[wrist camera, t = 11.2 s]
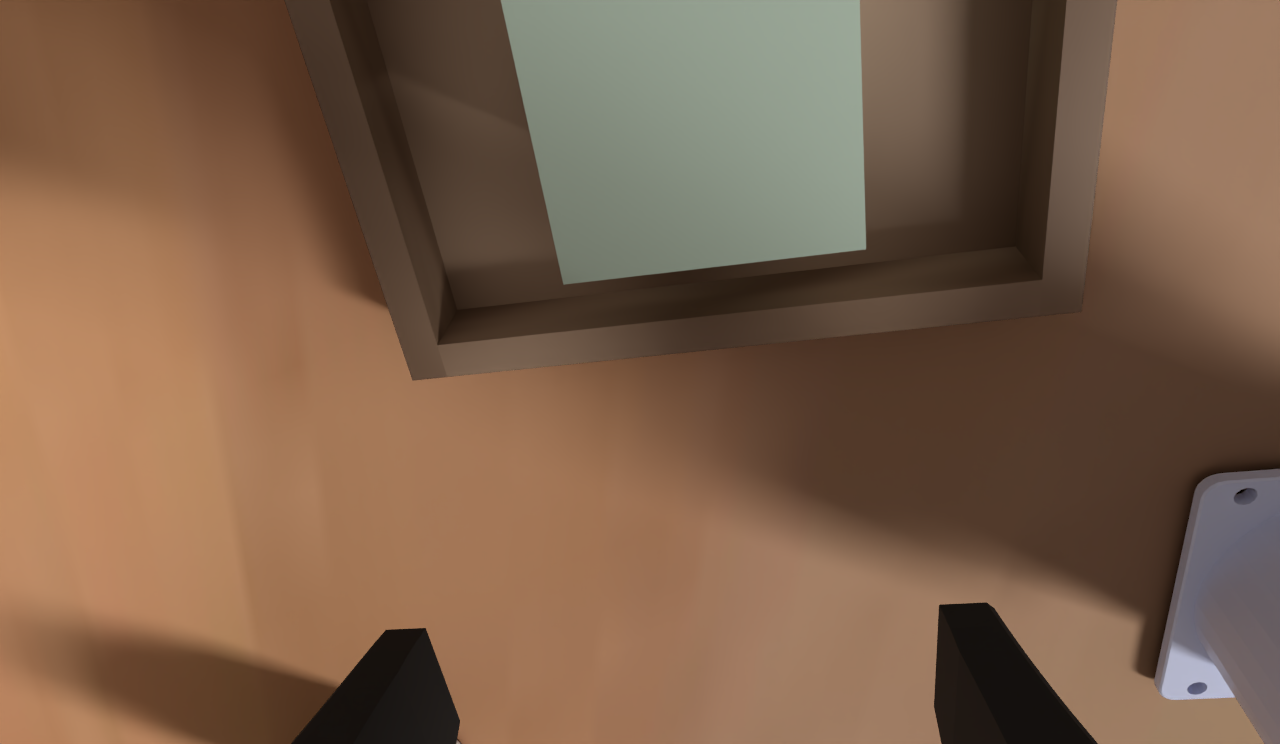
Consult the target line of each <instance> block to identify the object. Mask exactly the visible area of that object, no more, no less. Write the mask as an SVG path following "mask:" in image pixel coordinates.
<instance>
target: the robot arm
mask: <svg viewBox="0 0 1280 744" xmlns="http://www.w3.org/2000/svg"><path fill="white" fill-rule="evenodd" d="M1246 488H1247V489H1246ZM1242 489H1246V490H1245V491H1244V492H1242V493H1240V494H1236V493H1237V492H1239V491H1240V490H1242ZM1154 682H1155V686H1156V688H1157V690H1158V691H1159V693H1160V694H1161V695H1162V697H1165V698H1167V699H1173V700H1182V699H1205V698H1228V697H1235V698H1236V699H1237V701H1238V703H1239V704H1240V706H1241V707H1242V709H1243V710H1244V712H1245V714H1246V715H1247V717H1248V718H1249V720H1250V722H1251V723H1252V725H1253V726H1254V728H1255V729H1256V731H1257V733H1258V734H1259V736H1260V737H1261V739H1262V740H1263V742H1264V744H1280V469H1269V470H1256V471H1243V472H1230V473H1219V474H1214V475H1211V476H1209V477H1207V478H1205V479H1203V480H1202V481H1201V482H1200V483H1199V484H1198V485H1197V487H1196V489H1195V492H1194V497H1193V502H1192V506H1191V511H1190V516H1189V520H1188V525H1187V530H1186V534H1185V539H1184V544H1183V548H1182V553H1181V558H1180V562H1179V567H1178V572H1177V576H1176V581H1175V586H1174V590H1173V595H1172V600H1171V605H1170V609H1169V614H1168V619H1167V623H1166V628H1165V633H1164V637H1163V642H1162V647H1161V651H1160V656H1159V661H1158V665H1157V670H1156V675H1155V679H1154ZM934 708H935V713H936V718H937V723H938V728H939V733H940V738H941V743H942V744H1098V743H1097V742H1096V741H1095V740H1094V739H1093V737H1092V736H1091V735H1090V734H1089V733H1088V731H1087V730H1086V729H1085V728H1084V727H1083V725H1082V724H1081V723H1080V722H1079V721H1078V720H1077V718H1076V717H1075V716H1074V715H1073V714H1072V712H1071V711H1070V710H1069V709H1068V707H1067V706H1066V705H1065V704H1064V702H1063V701H1062V700H1061V699H1060V697H1059V696H1058V695H1057V694H1056V692H1055V691H1054V690H1053V689H1052V687H1051V686H1050V685H1049V683H1048V682H1047V681H1046V679H1045V678H1044V677H1043V676H1042V674H1041V673H1040V672H1039V670H1038V669H1037V668H1036V666H1035V665H1034V664H1033V662H1032V661H1031V660H1030V658H1029V657H1028V656H1027V654H1026V653H1025V652H1024V650H1023V649H1022V648H1021V646H1020V645H1019V643H1018V642H1017V641H1016V639H1015V638H1014V636H1013V635H1012V634H1011V632H1010V631H1009V629H1008V628H1007V626H1006V625H1005V624H1004V622H1003V621H1002V619H1001V618H1000V616H999V615H998V613H997V612H996V610H995V609H994V608H993V607H992V606H990V605H989V604H988V603H967V604H945V605H939V619H938V639H937V659H936V679H935V699H934ZM459 724H460V720H459V717H458V714H457V712H456V709H455V706H454V703H453V701H452V698H451V695H450V693H449V690H448V687H447V685H446V682H445V679H444V676H443V674H442V671H441V668H440V666H439V663H438V660H437V658H436V655H435V652H434V650H433V647H432V644H431V641H430V639H429V636H428V633H427V631H426V628H419V629H397V630H386V631H385V632H384V633H383V634H382V635H381V636H380V637H379V639H378V640H377V641H376V642H375V643H374V645H373V646H372V647H371V648H370V649H369V650H368V652H367V653H366V654H365V655H364V656H363V658H362V659H361V660H360V661H359V663H358V664H357V665H356V666H355V667H354V669H353V670H352V671H351V672H350V674H349V675H348V676H347V677H346V678H345V680H344V681H343V682H342V683H341V685H340V686H339V687H338V688H337V689H336V691H335V692H334V693H333V694H332V695H331V697H330V698H329V699H328V700H327V702H326V703H325V704H324V705H323V706H322V708H321V709H320V710H319V711H318V712H317V714H316V715H315V716H314V717H313V718H312V720H311V721H310V722H309V723H308V724H307V725H306V727H305V728H304V729H303V730H302V731H301V732H300V734H299V735H298V736H297V737H296V738H295V739H294V741H293V742H292V743H291V744H456V742H457V736H458V730H459Z"/></svg>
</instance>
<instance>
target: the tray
mask: <svg viewBox="0 0 1280 744" xmlns="http://www.w3.org/2000/svg"><path fill="white" fill-rule="evenodd" d="M285 3H286V6H287V9H288V12H289V15H290V18H291V21H292V24H293V27H294V30H295V33H296V36H297V39H298V42H299V45H300V48H301V51H302V54H303V57H304V60H305V63H306V66H307V69H308V72H309V75H310V78H311V81H312V83H313V86H314V89H315V92H316V95H317V98H318V101H319V104H320V107H321V110H322V113H323V116H324V119H325V122H326V125H327V128H328V131H329V134H330V137H331V140H332V143H333V146H334V149H335V152H336V155H337V158H338V161H339V164H340V167H341V169H342V172H343V175H344V178H345V181H346V184H347V187H348V190H349V193H350V196H351V199H352V202H353V205H354V208H355V211H356V214H357V217H358V220H359V223H360V226H361V229H362V232H363V235H364V238H365V241H366V244H367V247H368V250H369V252H370V255H371V258H372V261H373V264H374V267H375V270H376V273H377V276H378V279H379V282H380V285H381V288H382V291H383V294H384V297H385V300H386V303H387V306H388V309H389V312H390V315H391V318H392V321H393V324H394V327H395V330H396V333H397V336H398V338H399V341H400V344H401V347H402V350H403V353H404V356H405V359H406V362H407V365H408V368H409V371H410V374H411V377H412V380H422V379H432V378H442V377H452V376H461V375H471V374H481V373H491V372H500V371H510V370H520V369H530V368H539V367H549V366H559V365H569V364H578V363H588V362H598V361H608V360H617V359H627V358H637V357H647V356H656V355H666V354H676V353H686V352H695V351H705V350H715V349H725V348H734V347H744V346H754V345H763V344H773V343H783V342H793V341H802V340H812V339H822V338H832V337H841V336H851V335H861V334H871V333H880V332H890V331H900V330H910V329H919V328H929V327H939V326H949V325H958V324H968V323H978V322H988V321H997V320H1007V319H1017V318H1027V317H1036V316H1046V315H1056V314H1066V313H1075V312H1081V311H1082V302H1083V294H1084V285H1085V276H1086V268H1087V259H1088V250H1089V241H1090V233H1091V224H1092V215H1093V207H1094V198H1095V189H1096V180H1097V172H1098V163H1099V154H1100V146H1101V137H1102V128H1103V119H1104V111H1105V102H1106V93H1107V85H1108V76H1109V67H1110V58H1111V50H1112V41H1113V32H1114V24H1115V15H1116V6H1117V0H860V29H861V68H862V107H863V146H864V185H865V223H866V249H865V250H856V251H848V252H839V253H831V254H822V255H813V256H805V257H796V258H788V259H779V260H770V261H762V262H753V263H745V264H736V265H728V266H719V267H710V268H702V269H693V270H685V271H676V272H668V273H659V274H650V275H642V276H633V277H625V278H616V279H607V280H599V281H590V282H582V283H573V284H565V285H563V280H562V276H561V271H560V267H559V262H558V258H557V253H556V249H555V244H554V240H553V235H552V231H551V226H550V222H549V217H548V212H547V208H546V203H545V199H544V194H543V190H542V185H541V181H540V176H539V172H538V167H537V163H536V158H535V154H534V149H533V145H532V140H531V135H530V131H529V126H528V122H527V117H526V113H525V108H524V104H523V99H522V95H521V90H520V86H519V81H518V77H517V72H516V67H515V63H514V58H513V54H512V49H511V45H510V40H509V36H508V31H507V27H506V22H505V18H504V13H503V9H502V4H501V0H285Z"/></svg>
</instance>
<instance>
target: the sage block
mask: <svg viewBox="0 0 1280 744" xmlns="http://www.w3.org/2000/svg"><path fill="white" fill-rule="evenodd" d="M501 4H502V9H503V13H504V18H505V22H506V27H507V31H508V36H509V40H510V45H511V49H512V54H513V58H514V63H515V67H516V72H517V77H518V81H519V86H520V90H521V95H522V99H523V104H524V108H525V113H526V117H527V122H528V126H529V131H530V135H531V140H532V145H533V149H534V154H535V158H536V163H537V167H538V172H539V176H540V181H541V185H542V190H543V194H544V199H545V203H546V208H547V212H548V217H549V222H550V226H551V231H552V235H553V240H554V244H555V249H556V253H557V258H558V262H559V267H560V271H561V276H562V280H563V285H565V284H573V283H582V282H590V281H599V280H607V279H616V278H625V277H633V276H642V275H650V274H659V273H668V272H676V271H685V270H693V269H702V268H710V267H719V266H728V265H736V264H745V263H753V262H762V261H770V260H779V259H788V258H796V257H805V256H813V255H822V254H831V253H839V252H848V251H856V250H865V249H866V223H865V185H864V146H863V107H862V68H861V29H860V0H501Z"/></svg>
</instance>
